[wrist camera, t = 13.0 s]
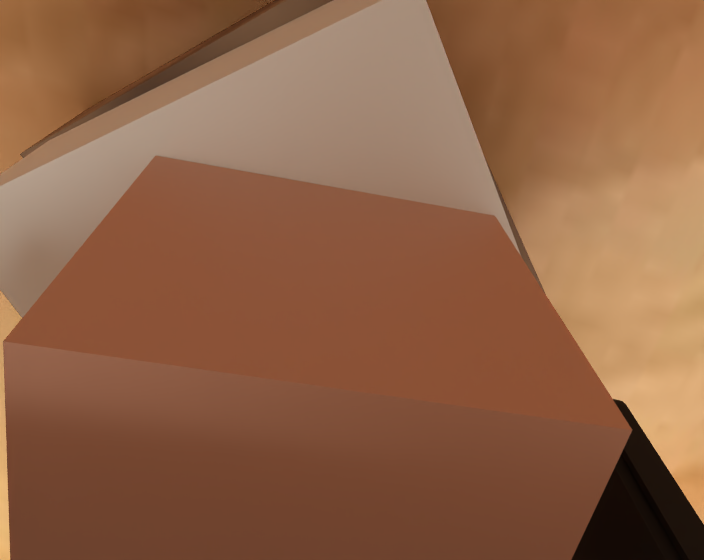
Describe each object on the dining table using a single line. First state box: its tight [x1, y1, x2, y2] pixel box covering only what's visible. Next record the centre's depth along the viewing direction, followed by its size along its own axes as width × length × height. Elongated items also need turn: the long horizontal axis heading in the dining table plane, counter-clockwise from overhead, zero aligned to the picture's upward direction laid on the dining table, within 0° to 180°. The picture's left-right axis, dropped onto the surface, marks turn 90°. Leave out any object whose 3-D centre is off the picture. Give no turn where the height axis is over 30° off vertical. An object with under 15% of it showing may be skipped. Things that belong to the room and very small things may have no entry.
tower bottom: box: [20, 0, 546, 295], centre depth 20 cm, size 10×10×5 cm
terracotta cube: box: [3, 156, 632, 560], centre depth 10 cm, size 6×6×6 cm
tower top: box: [0, 0, 521, 318], centre depth 15 cm, size 9×9×5 cm
